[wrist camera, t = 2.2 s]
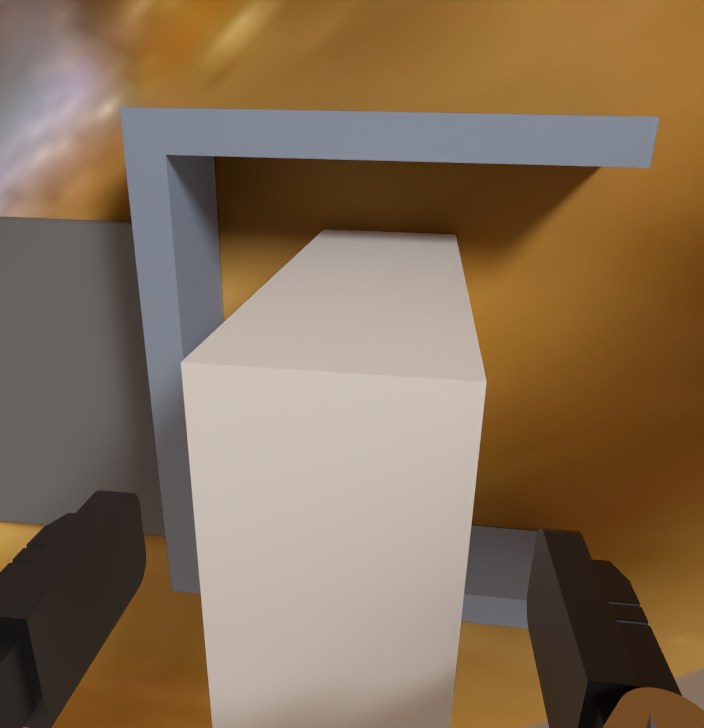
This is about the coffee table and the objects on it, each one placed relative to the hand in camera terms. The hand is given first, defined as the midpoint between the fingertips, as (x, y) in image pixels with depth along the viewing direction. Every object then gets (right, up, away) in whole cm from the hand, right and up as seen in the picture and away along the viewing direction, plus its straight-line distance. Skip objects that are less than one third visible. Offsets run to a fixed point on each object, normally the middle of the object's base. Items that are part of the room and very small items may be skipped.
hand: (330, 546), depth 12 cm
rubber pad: (-13, +3, +13) cm, 19 cm away
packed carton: (+2, +4, +10) cm, 11 cm away
